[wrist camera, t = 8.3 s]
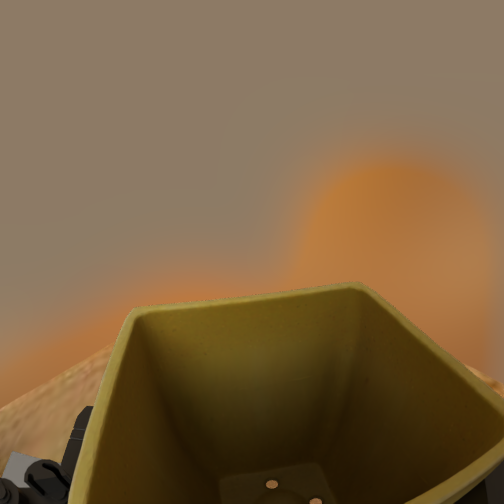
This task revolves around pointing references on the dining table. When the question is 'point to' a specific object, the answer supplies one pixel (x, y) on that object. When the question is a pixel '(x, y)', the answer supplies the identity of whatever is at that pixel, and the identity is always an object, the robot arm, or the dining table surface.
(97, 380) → the dining table surface
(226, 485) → the flower pot
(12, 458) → the grey top slab
